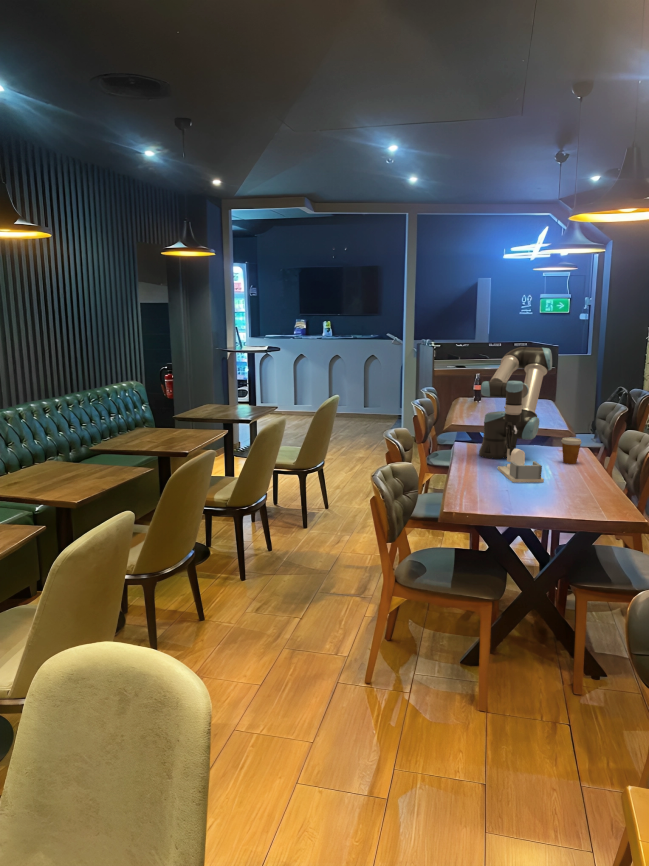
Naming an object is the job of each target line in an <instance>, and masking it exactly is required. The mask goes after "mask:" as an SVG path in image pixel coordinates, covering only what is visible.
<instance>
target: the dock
mask: <svg viewBox="0 0 649 866" xmlns="http://www.w3.org/2000/svg"><path fill="white" fill-rule="evenodd" d="M509 464H510V469H508V468H507V465H506V466H505V465H502V466H501V465H498V466H497V470H498V471H499V472H500V473H501V474H502V475H503V474H504V475H503V476H505V477H506V478H507V479H508V480H509V481H510V482H511V481H512V482H511V483H544V481H545V479H544V478H543V477H542V469H543V468H542V467H543V465H541V464H540V463H538V462H537V461H535V460H534V461H533V460H532V464H530V465H528V464H526V465H525V464H524V465H517V464H516V463H514V462H513V461H510V462H509Z"/></svg>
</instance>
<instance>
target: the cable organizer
mask: <svg viewBox="0 0 649 866" xmlns="http://www.w3.org/2000/svg"><path fill="white" fill-rule="evenodd" d="M511 461H513V462H514V463H516V464H517V465H525V462H526V453H525V451H524V450H523V449H522V450H521V449H519V448H514V450H513V451H512V452H511ZM506 466H507V468H508V469H510V463H507V464H506Z"/></svg>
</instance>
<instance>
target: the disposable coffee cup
mask: <svg viewBox="0 0 649 866" xmlns="http://www.w3.org/2000/svg"><path fill="white" fill-rule="evenodd" d="M560 443H561V448H562V450H561V451H562V462H563V464H567V463H568V464H567V465H575V464H577V463H578V458H579V454H580V450H581V444H582V443H583V442H582V440H581V438H577V437H569V436H568V437H562V439H561V440H560Z"/></svg>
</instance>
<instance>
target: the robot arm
mask: <svg viewBox="0 0 649 866" xmlns="http://www.w3.org/2000/svg"><path fill="white" fill-rule="evenodd" d="M519 369H521V370H524V372H525V378H524V382H523V381H521V380H509V379H510V377H511V376H512V374H513V373H514V372H515V371H516V370H517V371H518V370H519ZM552 369H553V354H552V350H551V349H550V348H548V347H527V346H521V347H517V348H514V349H511V350H510V351H509V352H507V353H506V354H504V356H503V357H502V358H501V360H500V365H499V366H498V368H497V369H496V371H495V373H494V375H493V376H491V379H490V380H488V381H487V380H485V381H482V383H481V387H480V392H481V393H480V394H481V395H482V396H484V397H487V398H490V397H491V398H504V399H505V406H504V408H503V409H504V411H503V410H502V411H499V410H498V411H491V412H488V413H485V414H484V420H483V437H482V442H481V444H480V445H481V446H480V448H479V450H478V455H479V457H482V456H483V457H482V458H485V457H486V458H487V459H492V458H494V459H495V460H501V458H503V459H506V462H509V463H510V461H511V452H512V451H513V450H514V449H517V443H518V439H520V440H530V441H531V440H534V438H536V436H537V434H538V433H539V432H538V431H539V428H540V418H539V417H538V415H537V413H536V409H537V406H538V400H539V396H540V393H541V392H540V391H541V389H542V388H541V387H542V383H543V379H544V376H546V375H547V373H548V371H551V370H552ZM506 457H507V458H506ZM486 458H485V459H486Z"/></svg>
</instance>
